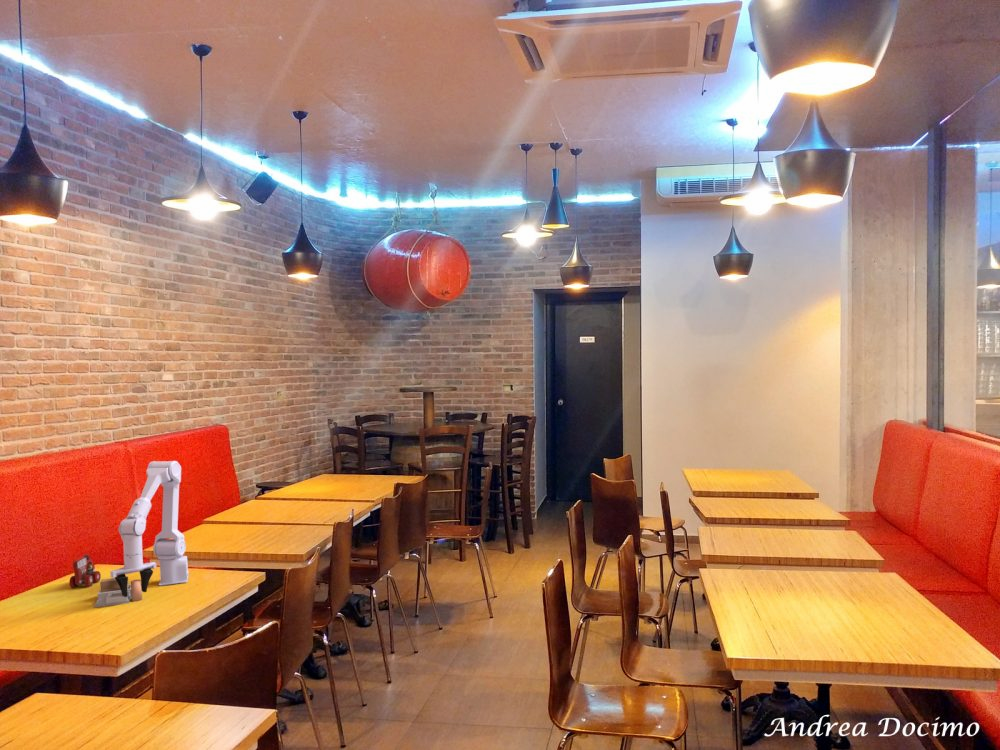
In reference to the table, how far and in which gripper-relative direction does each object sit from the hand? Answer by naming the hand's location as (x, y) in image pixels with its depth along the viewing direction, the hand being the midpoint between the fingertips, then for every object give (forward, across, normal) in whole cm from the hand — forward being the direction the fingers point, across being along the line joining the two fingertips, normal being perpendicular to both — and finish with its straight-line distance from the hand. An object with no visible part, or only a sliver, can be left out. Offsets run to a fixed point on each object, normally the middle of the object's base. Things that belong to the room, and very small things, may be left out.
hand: (134, 594), depth 263 cm
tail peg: (+2, -1, 0) cm, 2 cm away
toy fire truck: (+2, +2, -36) cm, 36 cm away
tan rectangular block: (+1, +2, -10) cm, 11 cm away
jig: (+2, +3, -8) cm, 8 cm away
